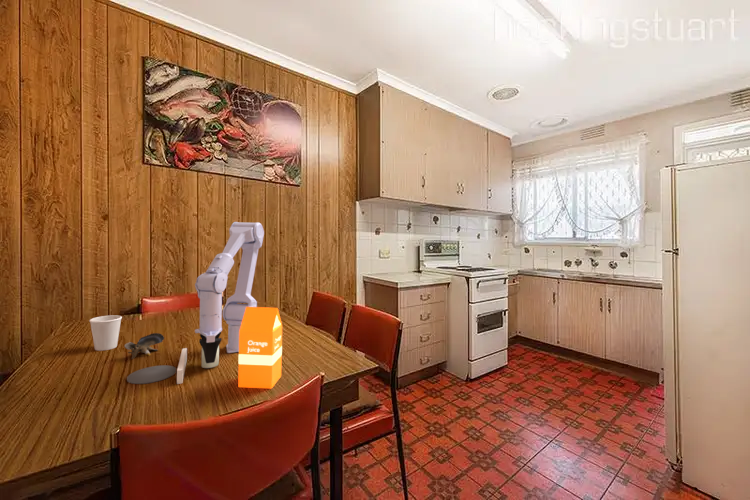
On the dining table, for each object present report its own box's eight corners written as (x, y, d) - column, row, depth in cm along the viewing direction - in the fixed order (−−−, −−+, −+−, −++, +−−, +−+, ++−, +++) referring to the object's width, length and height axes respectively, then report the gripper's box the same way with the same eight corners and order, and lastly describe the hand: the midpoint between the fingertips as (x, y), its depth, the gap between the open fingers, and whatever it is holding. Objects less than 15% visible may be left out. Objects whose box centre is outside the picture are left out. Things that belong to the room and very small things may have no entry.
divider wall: (186, 359, 97) (187, 348, 97) (182, 383, 81) (182, 369, 81) (182, 359, 96) (182, 348, 96) (176, 384, 81) (177, 370, 80)
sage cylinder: (218, 360, 95) (218, 339, 95) (218, 366, 91) (219, 344, 91) (201, 363, 93) (202, 341, 93) (201, 369, 89) (201, 346, 89)
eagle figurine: (148, 357, 95) (170, 342, 104) (133, 338, 94) (156, 325, 103) (131, 368, 96) (153, 352, 105) (116, 349, 95) (140, 335, 104)
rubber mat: (177, 364, 93) (177, 363, 93) (174, 379, 83) (174, 377, 83) (131, 370, 88) (131, 369, 88) (122, 387, 78) (122, 385, 78)
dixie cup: (126, 342, 110) (126, 314, 110) (115, 350, 102) (115, 320, 102) (97, 344, 108) (97, 315, 107) (83, 353, 100) (83, 322, 99)
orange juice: (250, 374, 88) (252, 303, 87) (281, 375, 87) (283, 304, 87) (237, 387, 80) (238, 310, 79) (271, 388, 80) (273, 311, 79)
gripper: (196, 309, 96) (195, 353, 97) (194, 321, 83) (193, 371, 84) (221, 307, 99) (221, 349, 100) (223, 318, 87) (222, 366, 87)
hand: (210, 359), depth 92 cm, fingers closed on sage cylinder, 4 cm apart
